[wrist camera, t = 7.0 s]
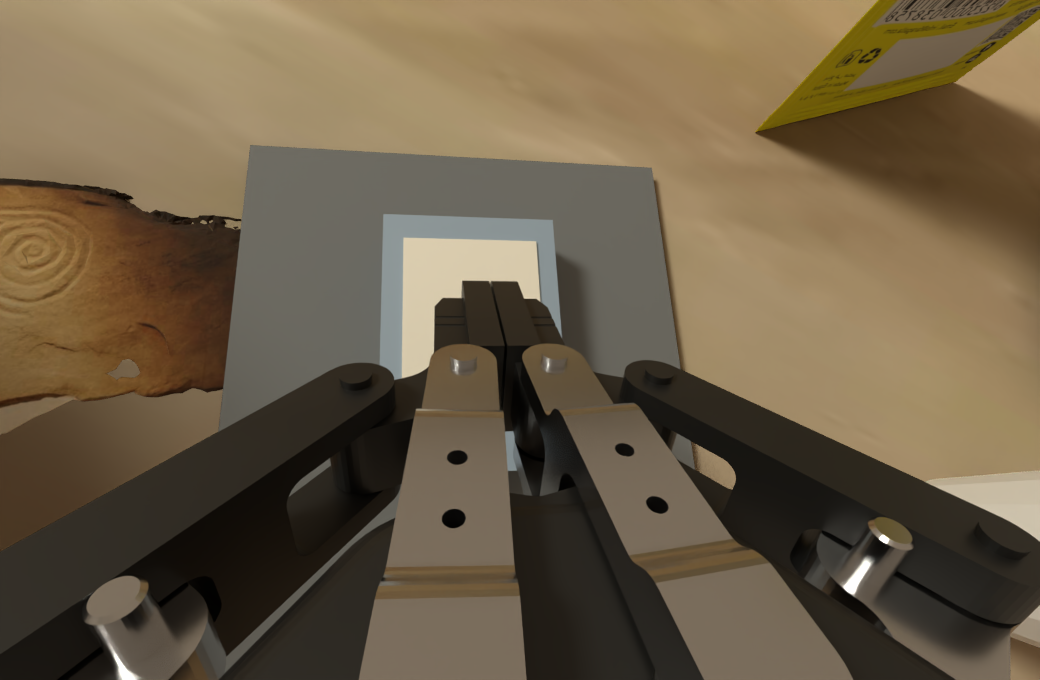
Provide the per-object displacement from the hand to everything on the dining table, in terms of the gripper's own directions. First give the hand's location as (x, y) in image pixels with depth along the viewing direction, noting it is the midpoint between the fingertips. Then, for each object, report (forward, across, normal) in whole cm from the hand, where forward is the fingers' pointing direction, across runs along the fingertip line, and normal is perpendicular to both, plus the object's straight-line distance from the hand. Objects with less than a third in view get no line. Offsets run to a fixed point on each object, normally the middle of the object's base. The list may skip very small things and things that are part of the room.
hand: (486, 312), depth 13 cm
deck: (+1, 0, +7) cm, 7 cm away
